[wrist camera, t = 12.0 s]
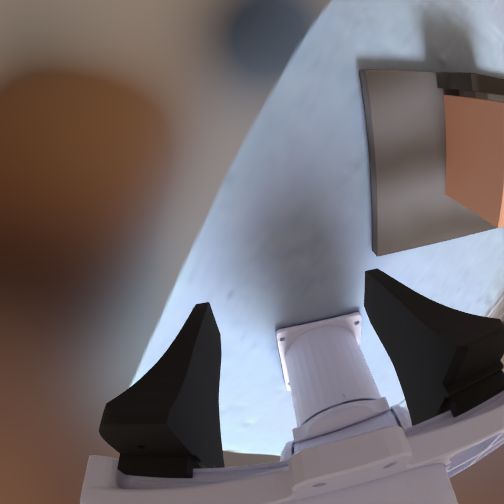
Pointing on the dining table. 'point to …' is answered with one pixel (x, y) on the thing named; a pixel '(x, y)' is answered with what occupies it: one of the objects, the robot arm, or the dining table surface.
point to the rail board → (416, 156)
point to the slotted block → (475, 155)
